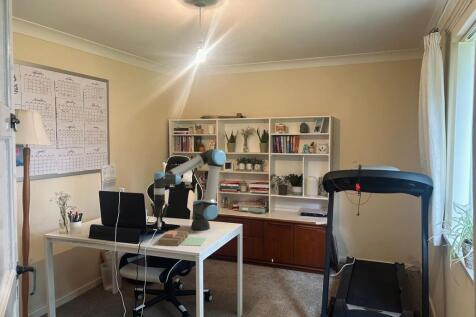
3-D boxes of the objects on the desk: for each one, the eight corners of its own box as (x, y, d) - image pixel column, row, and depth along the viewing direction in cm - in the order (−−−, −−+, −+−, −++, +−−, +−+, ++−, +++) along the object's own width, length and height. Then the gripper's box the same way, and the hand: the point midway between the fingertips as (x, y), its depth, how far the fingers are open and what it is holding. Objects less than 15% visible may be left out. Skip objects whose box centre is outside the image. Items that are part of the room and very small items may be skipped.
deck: (169, 236, 258) (169, 230, 258) (187, 236, 256) (187, 231, 256) (158, 245, 237) (158, 239, 237) (178, 245, 235) (178, 240, 234)
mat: (188, 237, 254) (188, 237, 254) (207, 238, 252) (207, 237, 252) (180, 245, 237) (180, 244, 236) (200, 245, 234) (200, 245, 234)
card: (169, 233, 252) (169, 230, 251) (177, 233, 251) (177, 230, 251) (164, 236, 243) (164, 233, 243) (173, 237, 242) (172, 234, 242)
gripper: (148, 194, 243) (148, 227, 245) (166, 195, 241) (166, 228, 243) (152, 192, 251) (153, 225, 252) (170, 193, 249) (170, 225, 250)
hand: (159, 226), depth 247 cm, fingers closed
